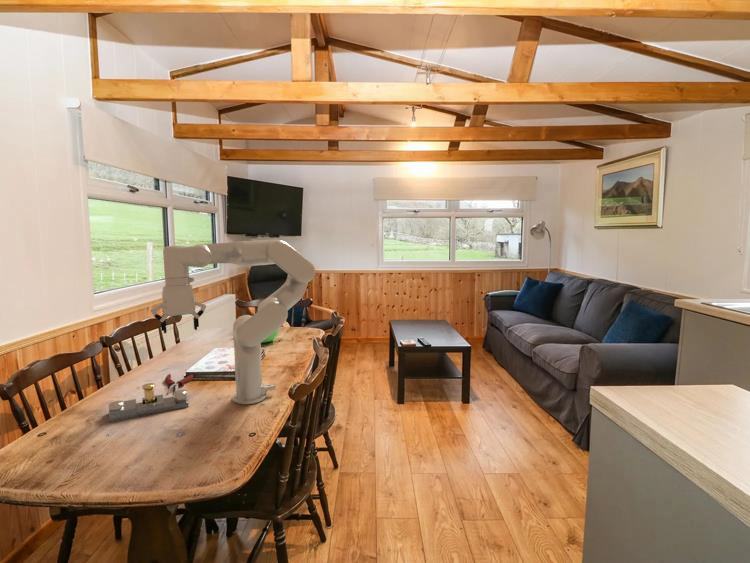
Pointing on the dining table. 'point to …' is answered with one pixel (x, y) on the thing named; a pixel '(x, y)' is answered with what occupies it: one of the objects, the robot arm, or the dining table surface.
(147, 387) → the brass pin
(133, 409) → the grey notched rail
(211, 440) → the dining table surface
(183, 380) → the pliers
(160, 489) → the dining table surface
